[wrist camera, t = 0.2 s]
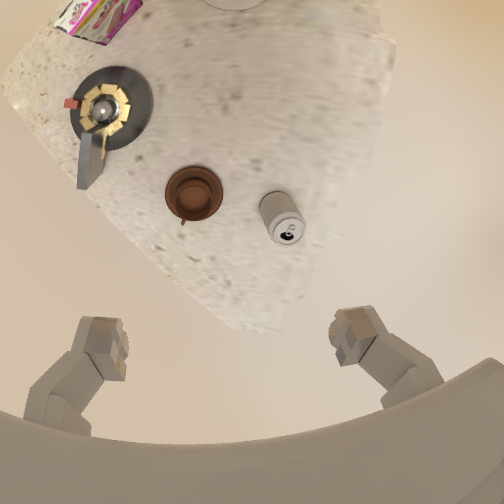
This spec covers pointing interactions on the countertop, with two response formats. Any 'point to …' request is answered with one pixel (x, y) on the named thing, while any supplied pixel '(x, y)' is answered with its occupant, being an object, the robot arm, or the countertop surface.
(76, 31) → the candy bar box
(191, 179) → the cup and saucer
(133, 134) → the cap plate
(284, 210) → the can
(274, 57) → the countertop surface
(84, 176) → the gray slab gold ring
